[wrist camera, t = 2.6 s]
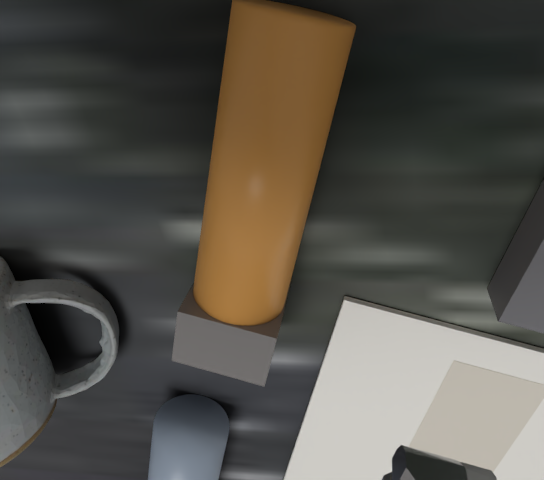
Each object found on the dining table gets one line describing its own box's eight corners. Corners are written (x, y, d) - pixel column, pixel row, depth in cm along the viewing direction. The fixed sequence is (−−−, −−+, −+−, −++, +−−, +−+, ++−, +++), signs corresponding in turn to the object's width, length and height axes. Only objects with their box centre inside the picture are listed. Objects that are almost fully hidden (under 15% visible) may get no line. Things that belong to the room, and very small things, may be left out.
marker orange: (246, -6, 15) (214, 2, 12) (359, 20, 15) (355, 35, 12) (201, 303, 22) (171, 360, 19) (280, 325, 22) (264, 386, 18)
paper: (344, 295, 20) (343, 300, 20) (696, 388, 19) (701, 395, 19) (270, 516, 28) (269, 521, 28) (516, 588, 28) (517, 594, 27)
